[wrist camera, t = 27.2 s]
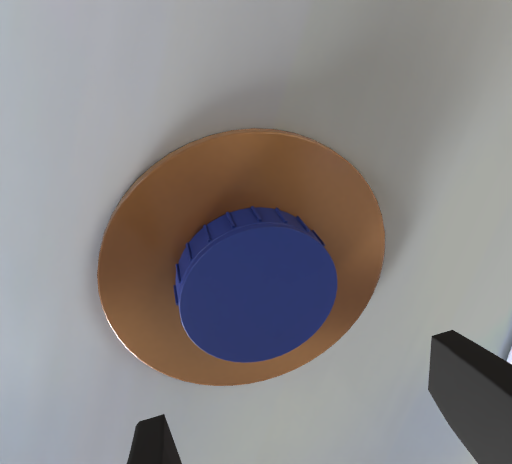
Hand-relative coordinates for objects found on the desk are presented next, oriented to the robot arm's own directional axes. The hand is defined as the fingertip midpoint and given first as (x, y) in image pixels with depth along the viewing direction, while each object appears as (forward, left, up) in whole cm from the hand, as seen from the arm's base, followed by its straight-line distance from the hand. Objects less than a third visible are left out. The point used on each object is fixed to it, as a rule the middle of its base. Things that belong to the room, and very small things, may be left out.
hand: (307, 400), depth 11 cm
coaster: (0, 0, -7) cm, 7 cm away
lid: (0, 0, -5) cm, 5 cm away
